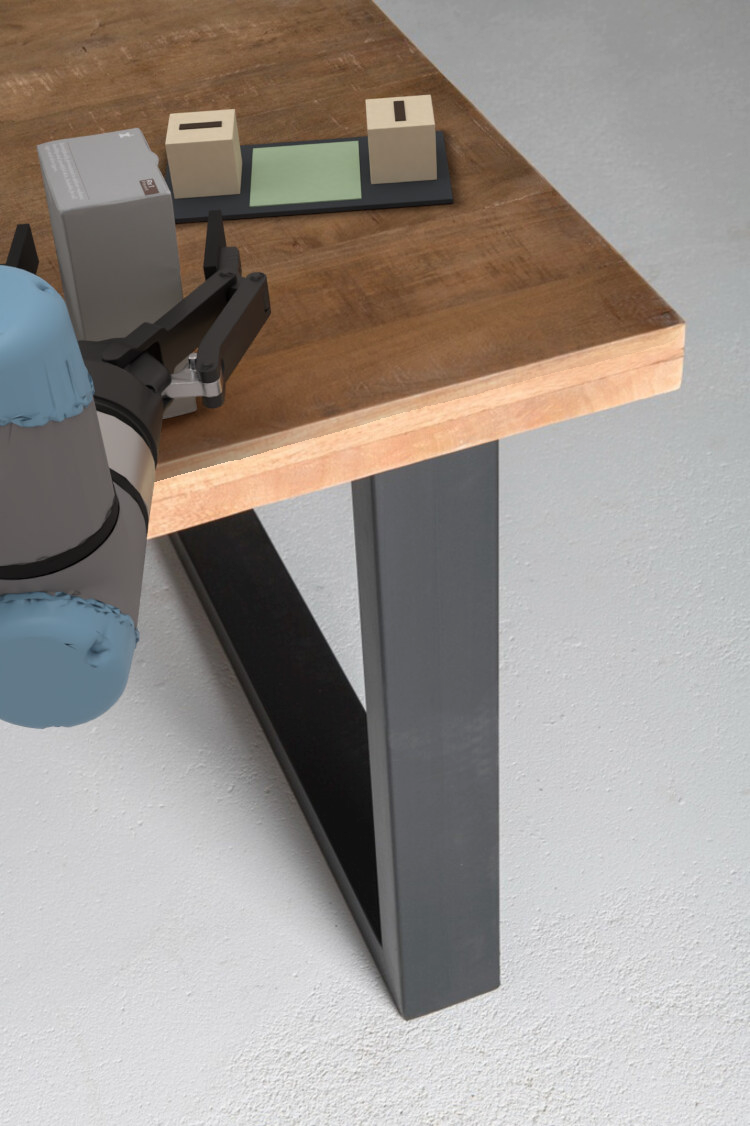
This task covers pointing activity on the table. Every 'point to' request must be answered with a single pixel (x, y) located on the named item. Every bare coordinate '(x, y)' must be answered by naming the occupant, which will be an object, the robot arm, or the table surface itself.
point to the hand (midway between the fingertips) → (123, 236)
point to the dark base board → (307, 166)
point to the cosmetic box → (113, 236)
